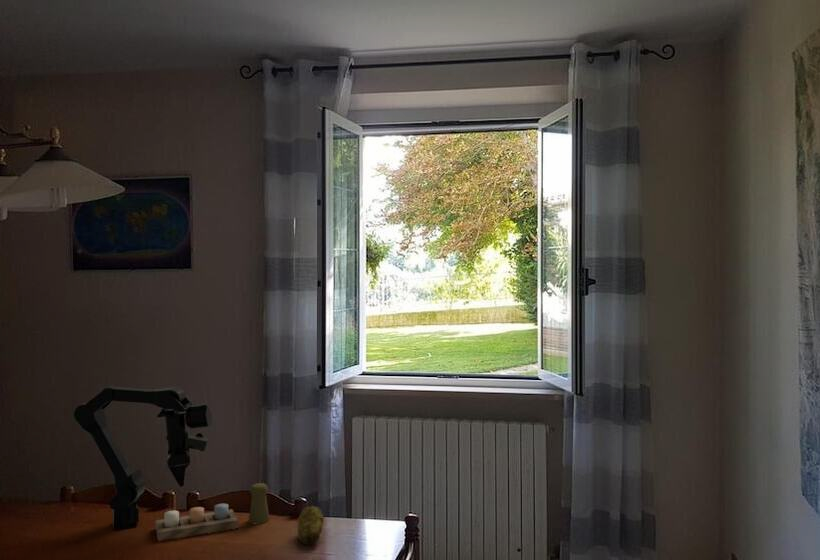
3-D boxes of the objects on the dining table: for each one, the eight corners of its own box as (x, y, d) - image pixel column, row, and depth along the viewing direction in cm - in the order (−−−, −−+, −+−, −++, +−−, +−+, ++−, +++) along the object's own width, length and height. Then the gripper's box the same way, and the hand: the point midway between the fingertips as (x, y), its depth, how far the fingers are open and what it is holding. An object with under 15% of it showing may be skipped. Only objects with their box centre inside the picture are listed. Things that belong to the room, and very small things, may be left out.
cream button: (164, 530, 186) (164, 516, 186) (163, 525, 190) (163, 511, 190) (179, 528, 188) (179, 514, 188) (178, 523, 192) (178, 509, 192)
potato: (287, 546, 179) (287, 517, 179) (303, 529, 192) (303, 501, 192) (316, 549, 178) (316, 519, 178) (331, 531, 191) (331, 503, 191)
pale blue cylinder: (215, 522, 192) (215, 509, 192) (213, 518, 196) (213, 504, 196) (229, 520, 194) (229, 507, 194) (227, 516, 198) (227, 502, 198)
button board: (158, 541, 183) (158, 532, 183) (155, 528, 192) (155, 520, 192) (238, 528, 192) (238, 520, 192) (232, 517, 201) (232, 509, 201)
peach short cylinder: (190, 526, 189) (190, 512, 189) (188, 521, 193) (188, 508, 193) (204, 524, 191) (204, 510, 191) (203, 519, 195) (203, 506, 195)
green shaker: (271, 517, 202) (271, 481, 201) (265, 524, 195) (265, 487, 195) (252, 516, 202) (252, 480, 202) (246, 523, 196) (246, 487, 196)
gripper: (205, 431, 189) (211, 485, 189) (203, 420, 207) (208, 469, 207) (164, 438, 185) (170, 493, 185) (165, 426, 203) (170, 476, 203)
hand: (181, 482), depth 195 cm, fingers open, 9 cm apart
